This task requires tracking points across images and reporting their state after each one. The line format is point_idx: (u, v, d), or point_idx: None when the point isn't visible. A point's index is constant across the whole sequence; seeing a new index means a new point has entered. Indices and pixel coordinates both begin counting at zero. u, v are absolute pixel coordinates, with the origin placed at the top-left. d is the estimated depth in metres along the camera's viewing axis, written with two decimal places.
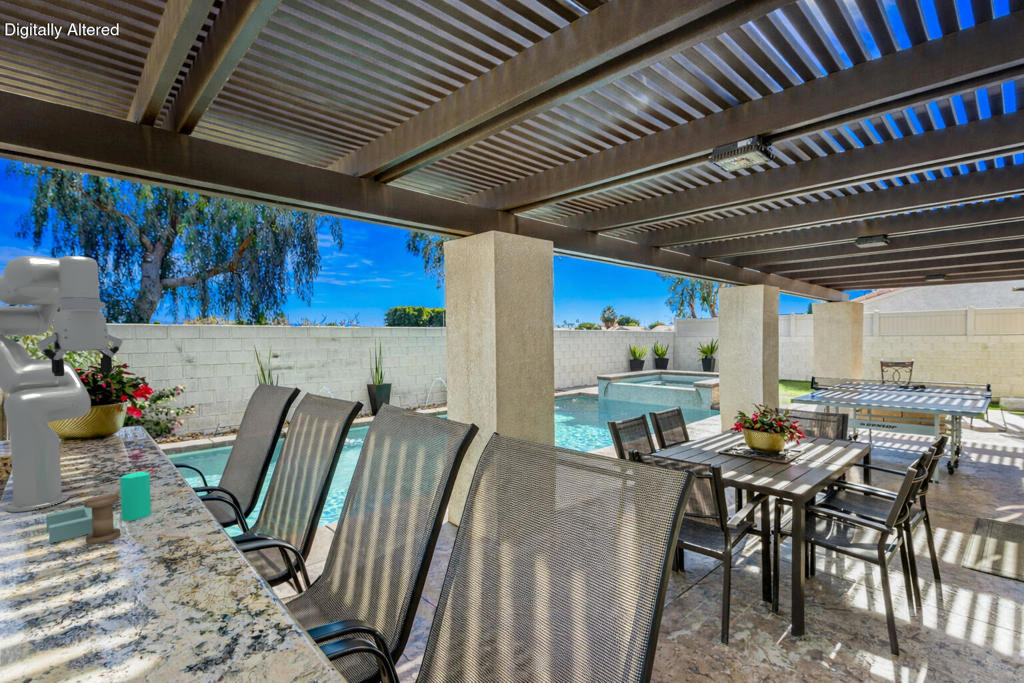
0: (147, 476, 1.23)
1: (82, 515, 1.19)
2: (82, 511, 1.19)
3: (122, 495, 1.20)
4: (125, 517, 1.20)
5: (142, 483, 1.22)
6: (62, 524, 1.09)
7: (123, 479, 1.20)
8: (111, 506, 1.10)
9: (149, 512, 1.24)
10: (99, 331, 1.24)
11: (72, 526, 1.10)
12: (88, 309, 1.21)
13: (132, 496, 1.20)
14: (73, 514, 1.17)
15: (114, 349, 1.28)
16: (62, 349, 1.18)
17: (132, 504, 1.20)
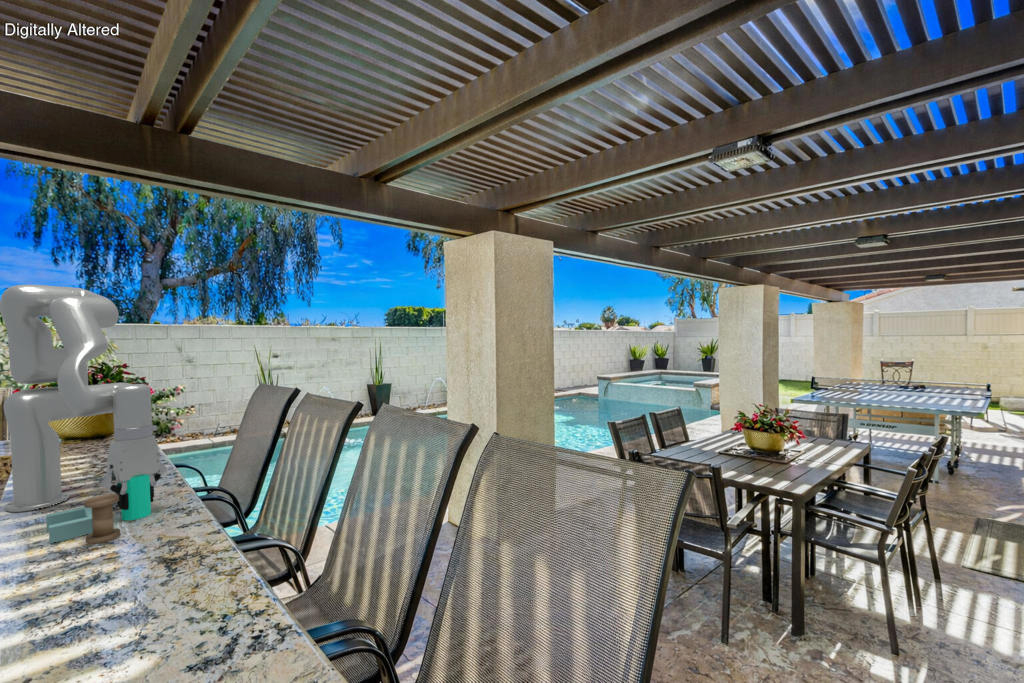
0: (147, 476, 1.23)
1: (82, 515, 1.19)
2: (82, 511, 1.19)
3: None
4: (125, 517, 1.20)
5: (142, 483, 1.22)
6: (62, 524, 1.09)
7: None
8: (111, 506, 1.10)
9: (149, 512, 1.24)
10: (151, 457, 1.24)
11: (72, 526, 1.10)
12: (142, 438, 1.21)
13: (132, 496, 1.20)
14: (73, 514, 1.17)
15: (156, 477, 1.27)
16: (123, 483, 1.19)
17: (132, 504, 1.20)
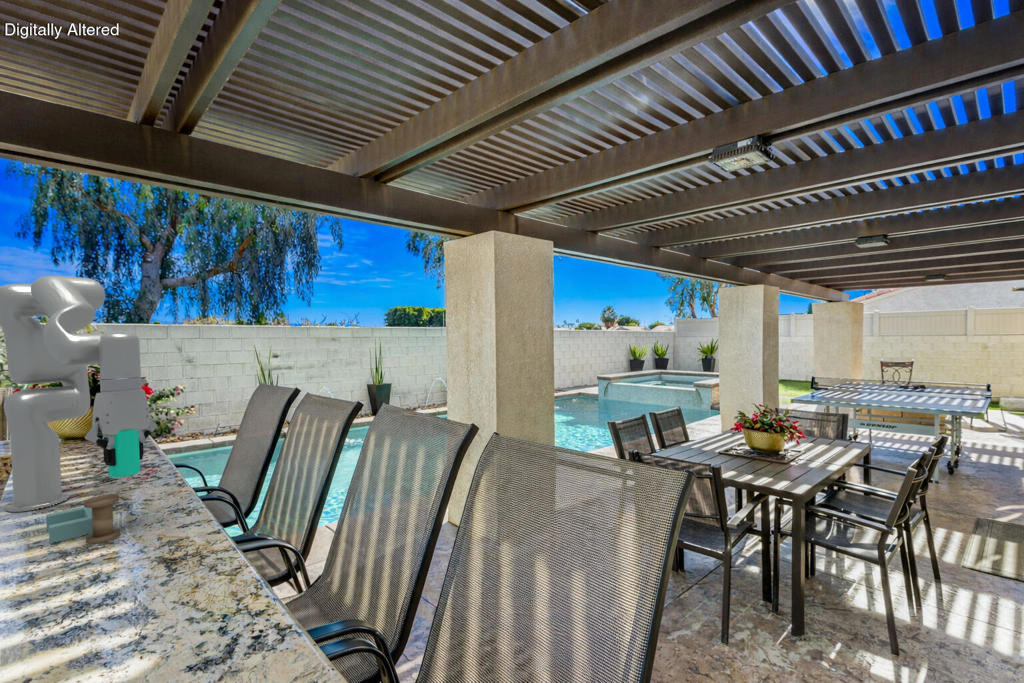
0: (136, 431, 1.16)
1: (82, 515, 1.19)
2: (82, 511, 1.19)
3: None
4: (112, 474, 1.13)
5: (130, 438, 1.14)
6: (62, 524, 1.09)
7: None
8: (111, 506, 1.10)
9: (138, 469, 1.16)
10: (141, 411, 1.17)
11: (72, 526, 1.10)
12: (130, 390, 1.14)
13: (119, 451, 1.13)
14: (73, 514, 1.17)
15: (146, 433, 1.19)
16: (110, 437, 1.12)
17: (120, 460, 1.13)
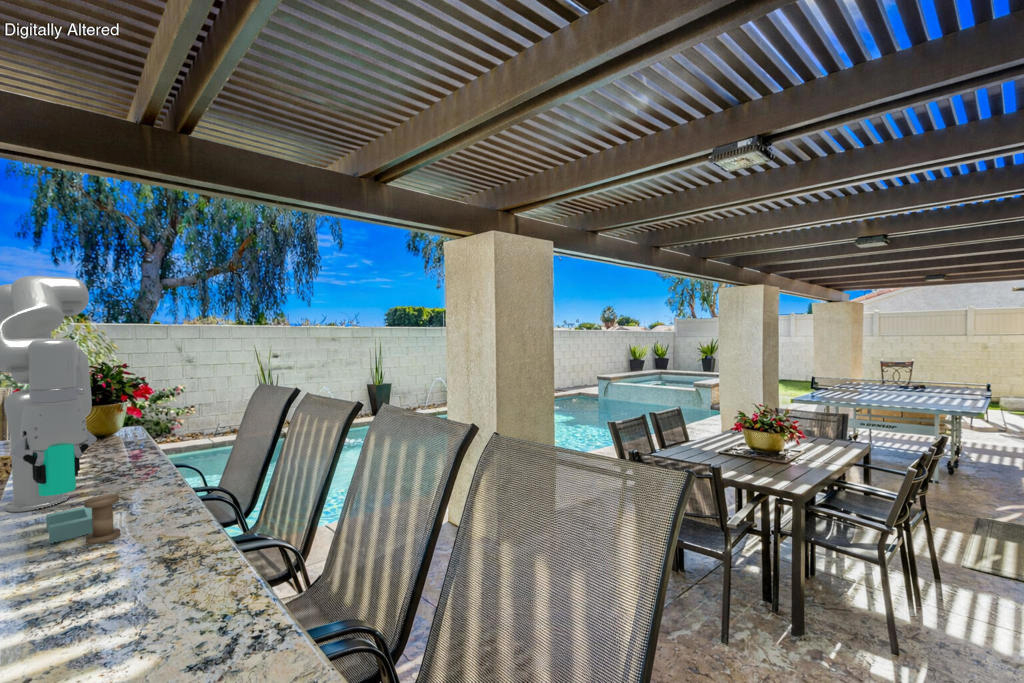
0: (70, 445, 1.07)
1: (82, 515, 1.19)
2: (82, 511, 1.19)
3: None
4: (42, 492, 1.04)
5: (63, 453, 1.05)
6: (62, 524, 1.09)
7: None
8: (111, 506, 1.10)
9: (73, 487, 1.07)
10: (76, 424, 1.08)
11: (72, 526, 1.10)
12: (63, 401, 1.04)
13: (50, 468, 1.04)
14: (73, 514, 1.17)
15: (83, 447, 1.10)
16: (39, 453, 1.03)
17: (51, 477, 1.04)
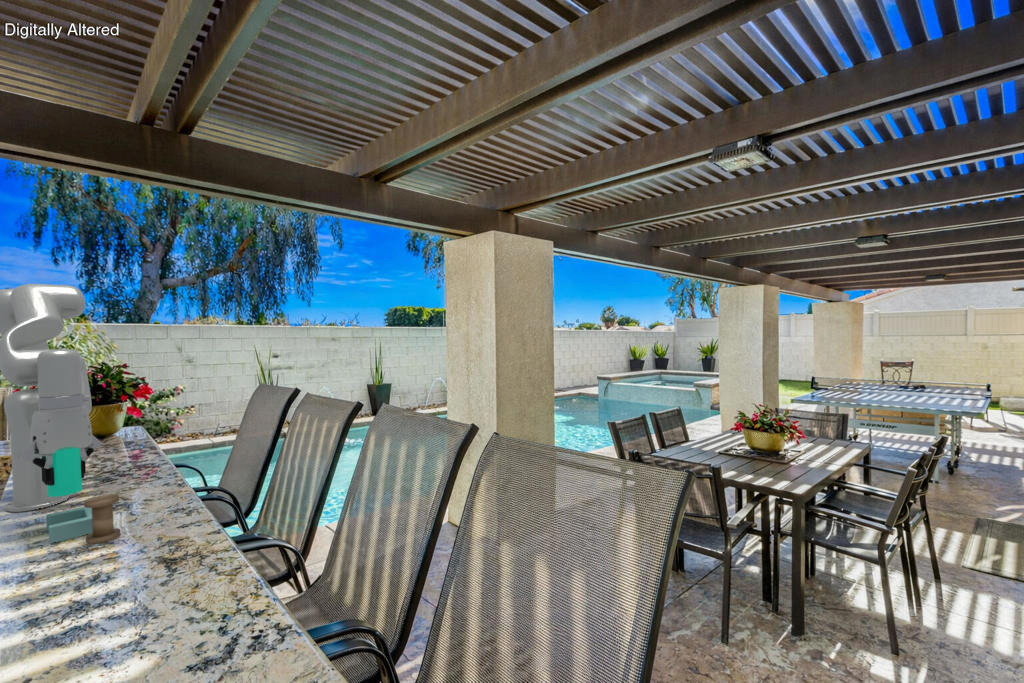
0: (77, 449, 1.13)
1: (82, 515, 1.19)
2: (82, 511, 1.19)
3: None
4: (51, 493, 1.10)
5: (70, 456, 1.12)
6: (62, 524, 1.09)
7: None
8: (111, 506, 1.10)
9: (79, 488, 1.14)
10: (82, 429, 1.15)
11: (72, 526, 1.10)
12: (70, 408, 1.11)
13: (58, 470, 1.11)
14: (73, 514, 1.17)
15: (88, 451, 1.17)
16: (48, 456, 1.09)
17: (59, 479, 1.11)
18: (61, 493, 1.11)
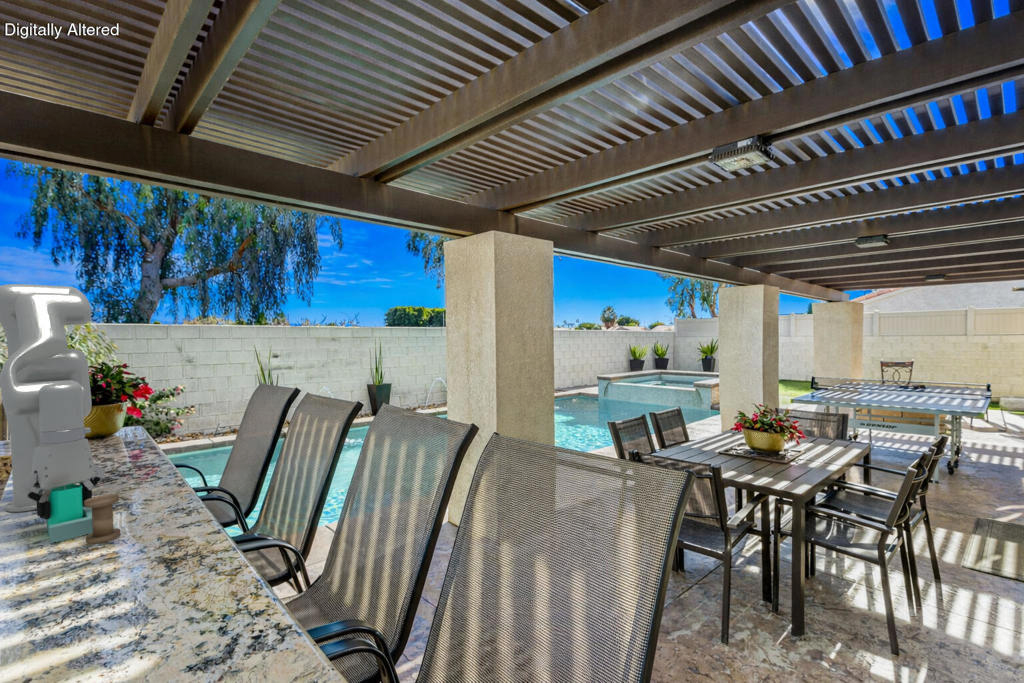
0: (78, 489, 1.14)
1: None
2: None
3: None
4: None
5: (71, 496, 1.12)
6: (62, 524, 1.09)
7: (50, 492, 1.11)
8: (111, 506, 1.10)
9: None
10: (83, 461, 1.15)
11: (72, 526, 1.10)
12: (71, 442, 1.12)
13: (60, 510, 1.11)
14: None
15: (95, 480, 1.18)
16: (46, 490, 1.09)
17: (60, 519, 1.11)
18: None
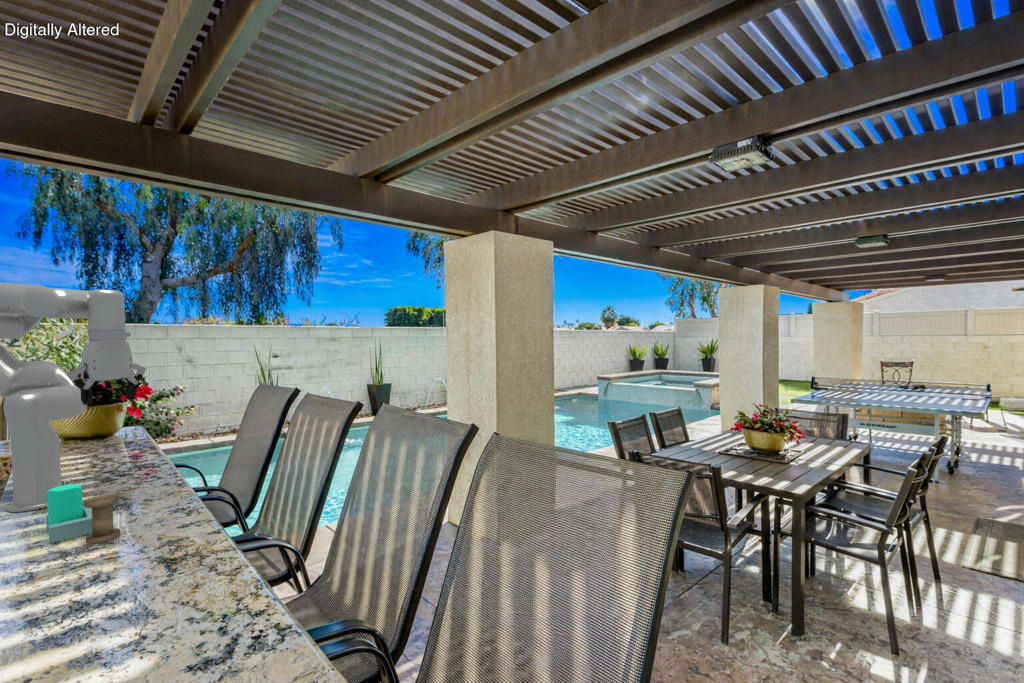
0: (78, 489, 1.14)
1: None
2: None
3: (49, 510, 1.11)
4: None
5: (71, 496, 1.12)
6: (62, 524, 1.09)
7: (50, 492, 1.11)
8: (111, 506, 1.10)
9: None
10: (125, 360, 1.30)
11: (72, 526, 1.10)
12: (115, 340, 1.26)
13: (60, 510, 1.11)
14: None
15: (138, 377, 1.34)
16: (91, 379, 1.23)
17: (60, 519, 1.11)
18: None
